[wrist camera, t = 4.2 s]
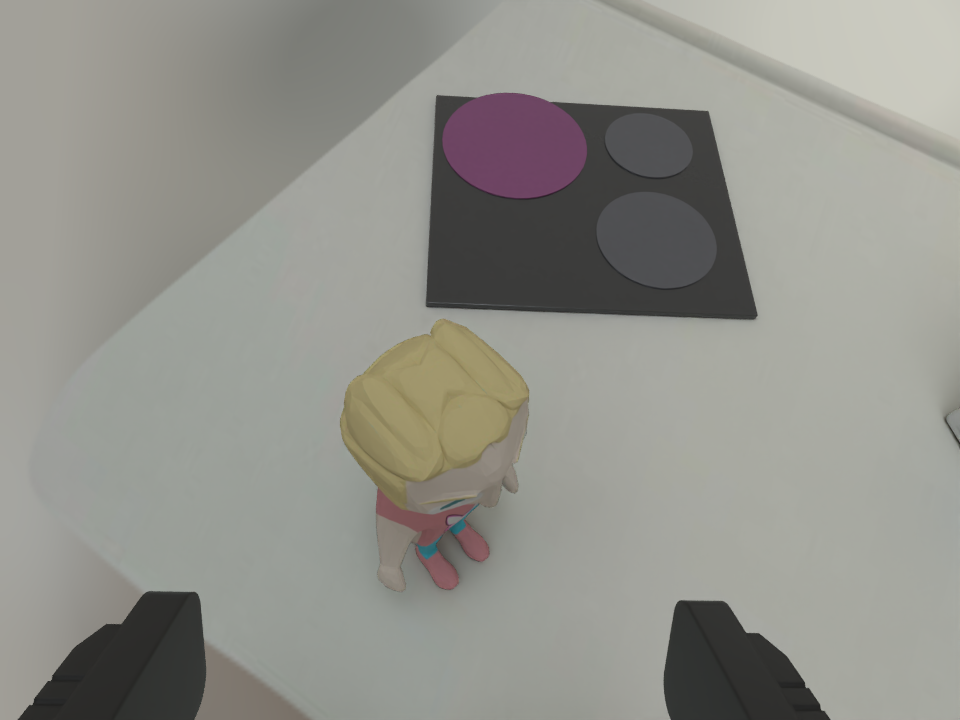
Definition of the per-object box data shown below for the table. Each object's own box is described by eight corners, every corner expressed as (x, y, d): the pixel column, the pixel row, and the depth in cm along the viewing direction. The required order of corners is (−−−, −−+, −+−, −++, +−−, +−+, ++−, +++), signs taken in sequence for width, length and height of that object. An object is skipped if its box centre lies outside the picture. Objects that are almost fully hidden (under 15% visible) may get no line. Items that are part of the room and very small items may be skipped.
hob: (426, 307, 34) (426, 301, 34) (436, 94, 42) (436, 88, 41) (754, 319, 35) (758, 314, 35) (705, 110, 43) (708, 104, 43)
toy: (412, 631, 27) (395, 558, 13) (344, 543, 28) (267, 399, 15) (528, 526, 29) (609, 376, 16) (459, 450, 30) (481, 255, 17)
